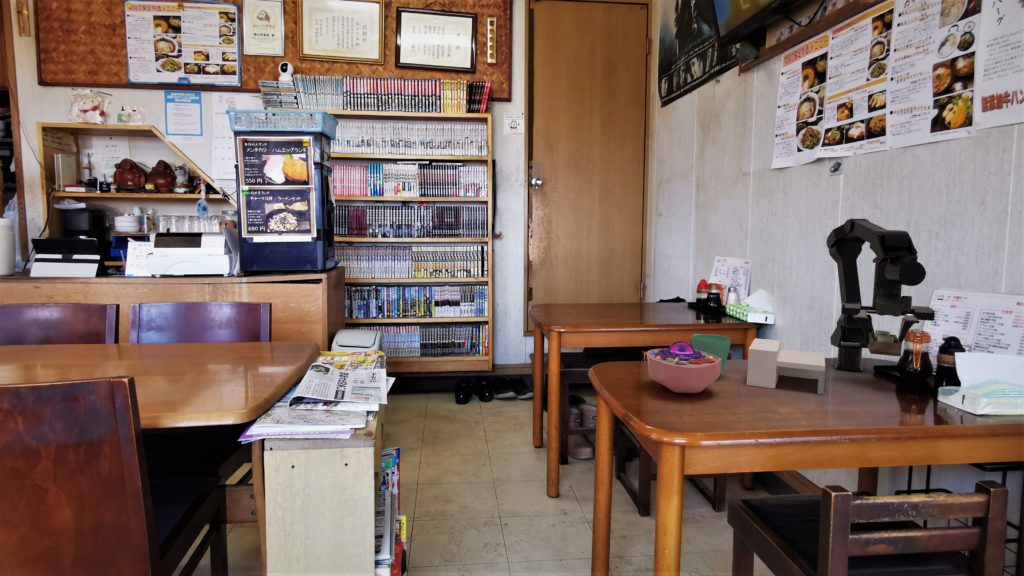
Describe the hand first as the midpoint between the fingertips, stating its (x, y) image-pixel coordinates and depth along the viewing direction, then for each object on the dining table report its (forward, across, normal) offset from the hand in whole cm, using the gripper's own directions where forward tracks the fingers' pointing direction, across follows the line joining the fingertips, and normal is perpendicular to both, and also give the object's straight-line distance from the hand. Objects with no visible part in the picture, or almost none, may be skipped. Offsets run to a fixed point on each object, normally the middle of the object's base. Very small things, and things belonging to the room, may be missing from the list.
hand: (883, 345), depth 138 cm
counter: (+10, -21, -9) cm, 25 cm away
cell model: (+10, -42, -30) cm, 53 cm away
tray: (+1, 0, 0) cm, 1 cm away
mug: (+10, -40, -10) cm, 42 cm away
